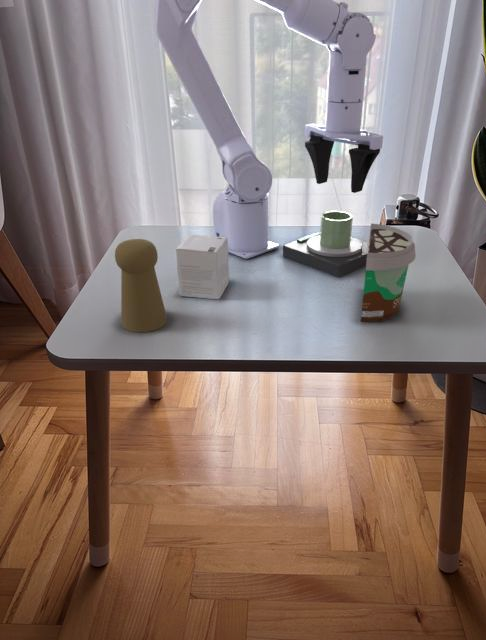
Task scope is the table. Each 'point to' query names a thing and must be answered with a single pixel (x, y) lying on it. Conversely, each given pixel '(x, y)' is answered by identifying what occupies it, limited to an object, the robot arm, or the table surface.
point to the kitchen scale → (327, 255)
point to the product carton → (203, 266)
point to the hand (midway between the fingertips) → (338, 187)
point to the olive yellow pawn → (139, 286)
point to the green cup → (336, 229)
